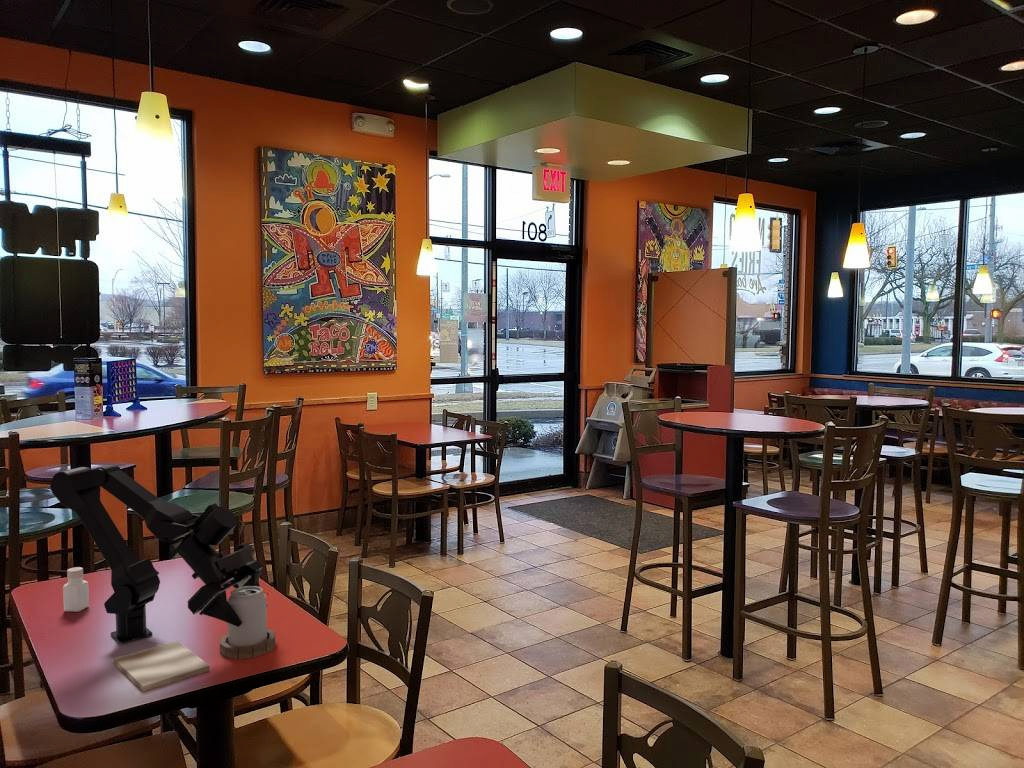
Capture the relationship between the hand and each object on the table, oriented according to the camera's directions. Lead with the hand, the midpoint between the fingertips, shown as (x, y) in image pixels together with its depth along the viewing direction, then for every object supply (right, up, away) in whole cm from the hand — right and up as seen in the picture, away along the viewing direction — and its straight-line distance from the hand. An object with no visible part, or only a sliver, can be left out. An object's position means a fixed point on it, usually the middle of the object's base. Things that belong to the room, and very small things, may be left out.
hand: (253, 616), depth 153 cm
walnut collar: (-1, -7, +1) cm, 7 cm away
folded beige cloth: (-15, -7, -8) cm, 19 cm away
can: (-1, -7, +1) cm, 7 cm away
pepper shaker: (-49, -5, +22) cm, 53 cm away
